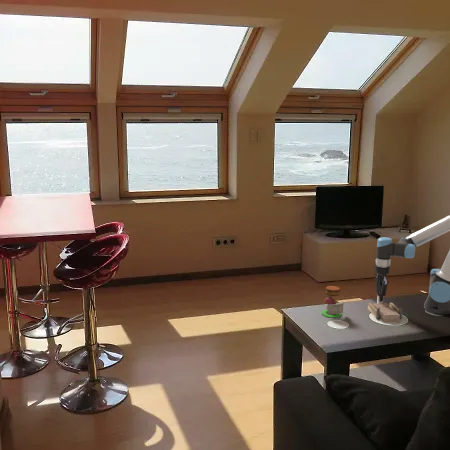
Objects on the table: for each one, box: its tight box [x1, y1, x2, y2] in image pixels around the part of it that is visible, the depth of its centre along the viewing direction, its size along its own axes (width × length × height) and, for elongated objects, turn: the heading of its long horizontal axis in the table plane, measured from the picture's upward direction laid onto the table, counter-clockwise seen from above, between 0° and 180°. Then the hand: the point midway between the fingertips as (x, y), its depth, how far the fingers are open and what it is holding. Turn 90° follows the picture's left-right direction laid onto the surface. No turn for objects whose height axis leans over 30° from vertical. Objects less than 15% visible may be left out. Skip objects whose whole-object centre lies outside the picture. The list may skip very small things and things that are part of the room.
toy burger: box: [321, 285, 345, 319], centre depth 267 cm, size 12×13×15 cm
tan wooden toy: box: [367, 302, 403, 320], centre depth 268 cm, size 14×13×6 cm
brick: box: [372, 302, 401, 323], centre depth 266 cm, size 17×8×5 cm, turn 9°
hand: (379, 306), depth 275 cm, fingers closed
